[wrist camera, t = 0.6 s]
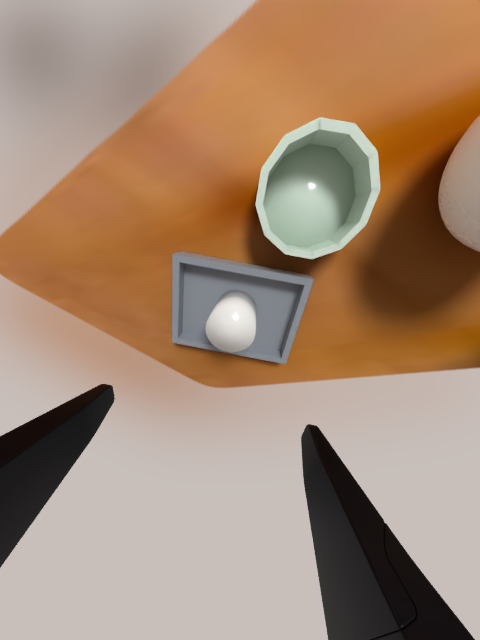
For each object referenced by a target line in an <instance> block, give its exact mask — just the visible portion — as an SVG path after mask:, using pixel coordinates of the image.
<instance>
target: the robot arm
mask: <svg viewBox="0 0 480 640" xmlns="http://www.w3.org/2000/svg"><path fill="white" fill-rule="evenodd" d="M113 402H114V392H113V387H112V386H111V385H107V384H101V385H99V386H97V387H95V388H93V389H91V390H89V391H87V392H85V393H83V394H81V395H79V396H78V397H76V398H74V399H72V400H70V401H68V402H66V403H64V404H62V405H60V406H58V407H56V408H54V409H52V410H50V411H49V412H47V413H45V414H43V415H41V416H39V417H37V418H35V419H33V420H31V421H29V422H27V423H25V424H23V425H21V426H19V427H18V428H15V429H14V430H12V431H10V432H8V433H6V434H4V435H2V436H0V567H1V566H2V564H3V563H4V561H5V560H6V559H7V557H8V556H9V555H10V553H11V552H12V550H13V549H14V548H15V546H16V545H17V543H18V542H19V540H20V539H21V538H22V536H23V535H24V534H25V532H26V531H27V529H28V528H29V526H30V525H31V524H32V522H33V521H34V519H35V518H36V517H37V515H38V514H39V512H40V511H41V509H42V508H43V507H44V505H45V504H46V503H47V501H48V500H49V498H50V497H51V496H52V494H53V493H54V491H55V490H56V489H57V487H58V486H59V484H60V483H61V482H62V480H63V479H64V477H65V476H66V475H67V473H68V472H69V470H70V469H71V467H72V466H73V465H74V463H75V462H76V460H77V459H78V458H79V456H80V455H81V453H82V452H83V450H84V449H85V448H86V446H87V445H88V444H89V442H90V441H91V439H92V438H93V436H94V435H95V433H96V431H97V430H98V428H99V426H100V425H101V423H102V421H103V419H104V418H105V416H106V414H107V413H108V411H109V409H110V407H111V406H112V404H113ZM301 443H302V460H303V476H304V484H305V492H306V498H307V505H308V510H309V518H310V523H311V530H312V537H313V542H314V549H315V556H316V562H317V568H318V576H319V582H320V587H321V595H322V601H323V608H324V614H325V621H326V627H327V634H328V640H475V639H474V638H473V637H472V635H471V634H470V633H469V632H468V630H467V629H466V628H465V627H464V625H463V624H462V623H461V621H460V620H459V619H458V618H457V616H456V615H455V614H454V613H453V611H452V610H451V609H450V608H449V606H448V605H447V604H446V603H445V601H444V600H443V599H442V598H441V596H440V595H439V594H438V593H437V591H436V590H435V588H434V587H433V586H432V585H431V583H430V582H429V581H428V580H427V578H426V577H425V576H424V574H423V573H422V572H421V571H420V569H419V568H418V567H417V566H416V564H415V563H414V561H413V560H412V559H411V557H410V556H409V555H408V554H407V552H406V551H405V549H404V548H403V546H402V545H401V544H400V542H399V541H398V540H397V538H396V537H395V535H394V534H393V533H392V531H391V530H390V528H389V527H388V525H387V524H386V523H384V520H383V519H382V517H381V516H380V514H379V513H378V511H377V510H376V509H375V507H374V506H373V504H372V503H371V502H370V500H369V499H368V497H367V496H366V494H365V493H364V492H363V490H362V489H361V487H360V486H359V485H358V483H357V482H356V480H355V479H354V478H353V476H352V475H351V473H350V472H349V470H348V469H347V468H346V466H345V465H344V464H343V462H342V461H341V459H340V458H339V456H338V455H337V453H336V452H335V451H334V449H333V448H332V446H331V445H330V443H329V442H328V441H327V439H326V438H325V436H324V435H323V434H322V432H321V431H320V429H319V428H318V427H317V426H314V425H310V424H308V425H307V426H306V428H305V430H304V432H303V434H302V438H301Z"/></svg>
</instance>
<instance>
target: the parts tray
mask: <svg viewBox="0 0 480 640" xmlns="http://www.w3.org/2000/svg"><path fill="white" fill-rule="evenodd" d="M313 281H314V279H313V278H312V277H311V276H310V275H308V274H303V273H297V272H292V271H287V270H281V269H276V268H270V267H265V266H259V265H254V264H249V263H243V262H238V261H232V260H227V259H221V258H216V257H211V256H205V255H200V254H194V253H189V252H183V251H179V252H176V253H173V282H172V343H177V344H182V345H187V346H193V347H198V348H203V349H208V350H214V351H219V352H224V353H229V354H234V355H240V356H245V357H250V358H255V359H261V360H266V361H271V362H276V363H281V364H286V362H287V359H288V356H289V353H290V350H291V347H292V344H293V341H294V338H295V335H296V332H297V329H298V326H299V323H300V320H301V317H302V314H303V311H304V308H305V305H306V302H307V299H308V296H309V293H310V290H311V287H312V284H313ZM231 290H241V291H244V292H246V293H248V294H249V295H250V296H251V297H252V298H253V299H254V301H255V303H256V307H257V314H256V333H255V338H254V340H253V342H252V344H251V345H250V346H249V347H248V348H246V349H244V350H242V351H239V352H226V351H222V350H220V349H218V348H216V347H215V346H214V345H213V344H212V343H211V342H210V341H209V339H208V337H207V335H206V330H205V328H206V322H207V320H208V318H209V316H210V315H211V313H212V311H213V309H214V307H215V305H216V304H217V302H218V300H219V298H220V297H221V296H222V295H223V294H224V293H226V292H228V291H231Z"/></svg>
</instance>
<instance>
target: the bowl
mask: <svg viewBox="0 0 480 640" xmlns="http://www.w3.org/2000/svg"><path fill="white" fill-rule="evenodd" d="M354 124H355V123H350V122H344V121H339V120H333V119H327V118H321V117H320V118H317V119H315V120H313V121H311V122H309V123H307V124H305V125H303V126H302V127H300V128H298V129H296V130H294V131H292V132H290V133H288V134H286V135H285V136H284V137H283V138H282V139H281V141H280V142H279V144H278V145H277V147H276V148H275V150H274V151H273V152H272V154H271V155H270V157H269V158H268V160H267V161H266V163H265V164H264V165H263V167H262V169H261V174H260V180H259V186H258V192H257V198H256V204H255V206H256V209H257V212H258V216H259V219H260V222H261V226H262V229H263V232H264V235H265V236H266V237H267V238H268V239H269V240H270V241H271V242H272V243H273V244H274V245H275V246H276V247H278V248H279V249H280V250H281V251H282V252H283V253H284V254H286V255H291V256H297V257H302V258H308V259H315V258H317V257H320V256H323V255H326V254H329V253H332V252H335V251H338V250H341V249H342V248H343V247H344V246H345V245H346V244H347V243H348V242H349V241H350V240H351V239H352V238H353V237H354V236H355V235H356V234H357V233H358V232H359V231H360V230H361V229H362V228H363V227H365V226H366V224H367V222H368V219H369V217H370V214H371V212H372V209H373V207H374V204H375V202H376V199H377V197H378V194H379V192H380V176H379V163H378V152H377V150H376V149H375V147H374V146H373V145H372V144H371V142H370V141H369V140H368V139H367V137H366V136H365V135H364V134H363V133H362V131H361V130H360V129H359V128H358V126H357V125H356V124H355V125H354Z"/></svg>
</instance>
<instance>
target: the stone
mask: <svg viewBox="0 0 480 640" xmlns="http://www.w3.org/2000/svg"><path fill="white" fill-rule="evenodd" d="M256 314H257V307H256V303H255V301H254V299H253V298H252V297H251V296H250V295H249V294H248V293H246V292H244V291H241V290H231V291H228V292H226V293H224V294H223V295H222V296H221V297H220V298H219V300H218V302H217V304H216V305H215V307H214V309H213V311H212V313H211V315H210V316H209V318H208V320H207V322H206V328H205V330H206V335H207V337H208V339H209V341H210V342H211V343H212V344H213V345H214V346H215V347H216V348H218V349H220V350H222V351H226V352H239V351H242V350H244V349H246V348H248V347H249V346H250V345H251V344H252V342H253V340H254V338H255V333H256Z"/></svg>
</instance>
